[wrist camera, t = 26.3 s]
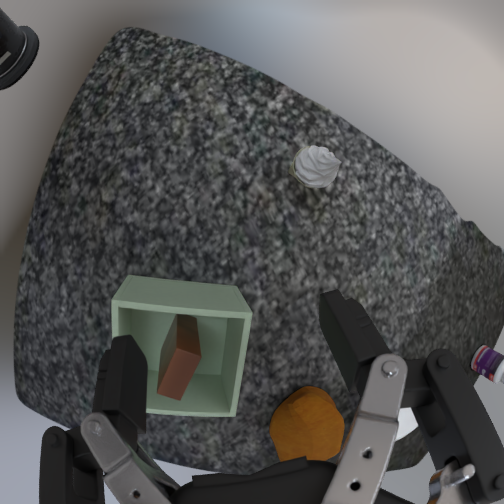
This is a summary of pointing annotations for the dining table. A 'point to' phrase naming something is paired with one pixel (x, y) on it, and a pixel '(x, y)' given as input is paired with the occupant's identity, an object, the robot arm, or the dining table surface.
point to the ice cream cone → (314, 167)
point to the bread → (307, 426)
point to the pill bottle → (489, 364)
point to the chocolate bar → (179, 357)
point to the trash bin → (210, 336)
